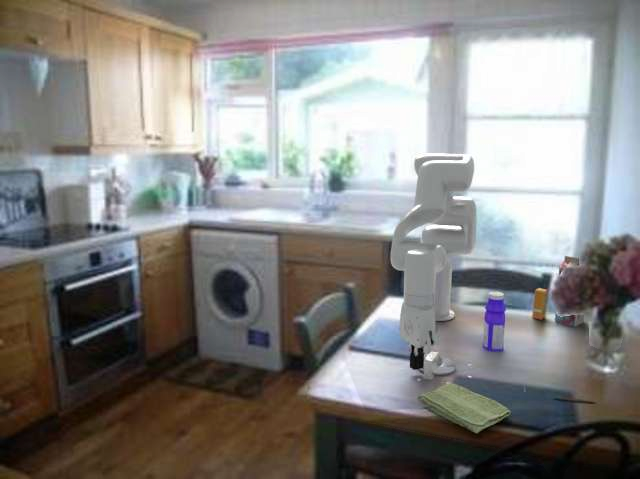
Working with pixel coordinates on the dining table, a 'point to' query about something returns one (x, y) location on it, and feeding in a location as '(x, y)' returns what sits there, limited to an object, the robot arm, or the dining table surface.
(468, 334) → the dining table surface
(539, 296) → the supplement box
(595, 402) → the fork
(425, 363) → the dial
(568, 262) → the juice carton
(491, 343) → the bottle
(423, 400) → the washcloth
